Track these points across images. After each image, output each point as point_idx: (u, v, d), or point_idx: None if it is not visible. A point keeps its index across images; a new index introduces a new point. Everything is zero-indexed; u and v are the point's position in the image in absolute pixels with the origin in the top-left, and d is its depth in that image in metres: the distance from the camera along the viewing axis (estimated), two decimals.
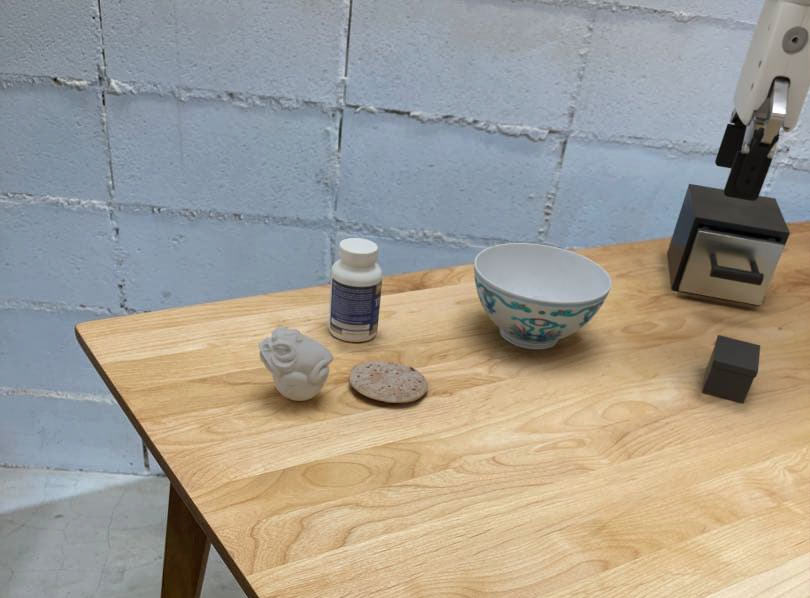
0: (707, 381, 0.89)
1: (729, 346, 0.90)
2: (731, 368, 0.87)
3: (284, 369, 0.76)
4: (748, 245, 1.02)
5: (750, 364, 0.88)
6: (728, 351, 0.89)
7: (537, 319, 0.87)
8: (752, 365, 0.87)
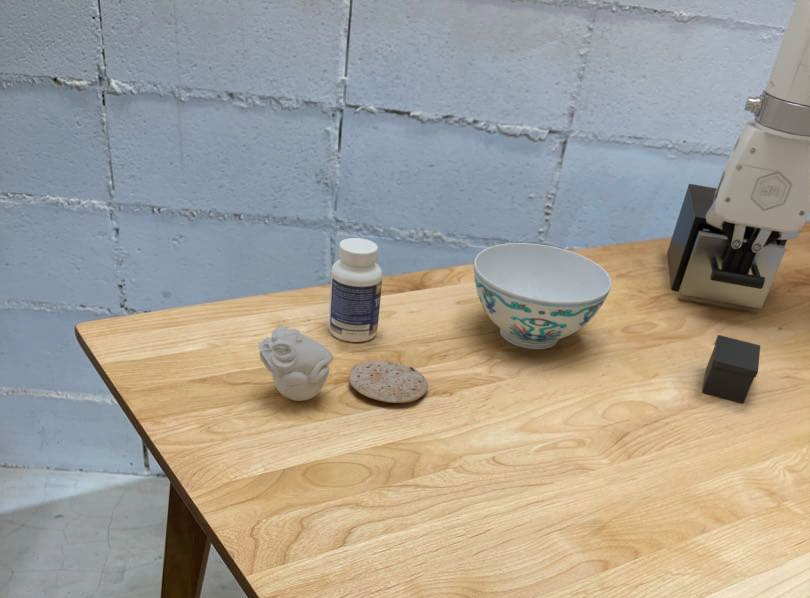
0: (707, 381, 0.89)
1: (729, 346, 0.90)
2: (731, 368, 0.87)
3: (284, 369, 0.76)
4: None
5: (750, 364, 0.88)
6: (728, 351, 0.89)
7: (537, 319, 0.87)
8: (752, 365, 0.87)
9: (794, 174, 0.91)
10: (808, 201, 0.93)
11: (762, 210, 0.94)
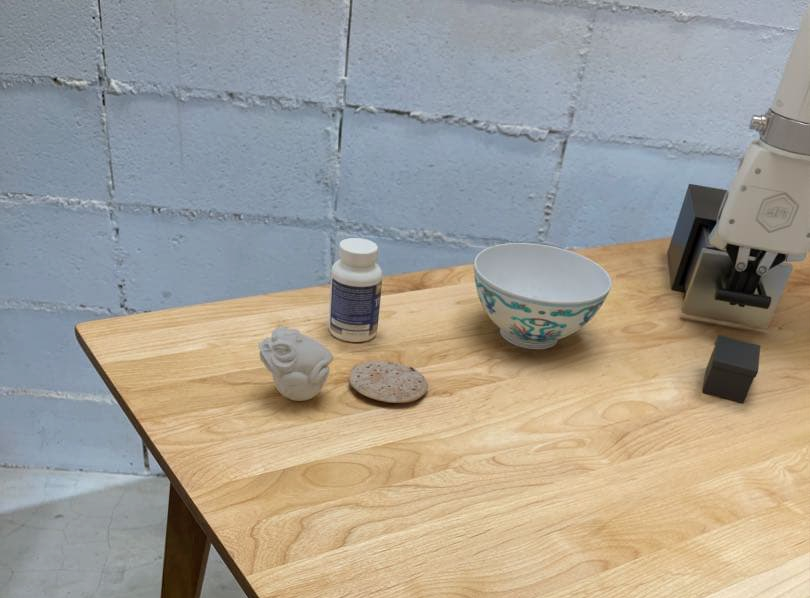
0: (707, 381, 0.89)
1: (729, 346, 0.90)
2: (731, 368, 0.87)
3: (284, 369, 0.76)
4: None
5: (750, 364, 0.88)
6: (728, 351, 0.89)
7: (537, 319, 0.87)
8: (752, 365, 0.87)
9: (801, 195, 0.87)
10: None
11: (768, 232, 0.90)
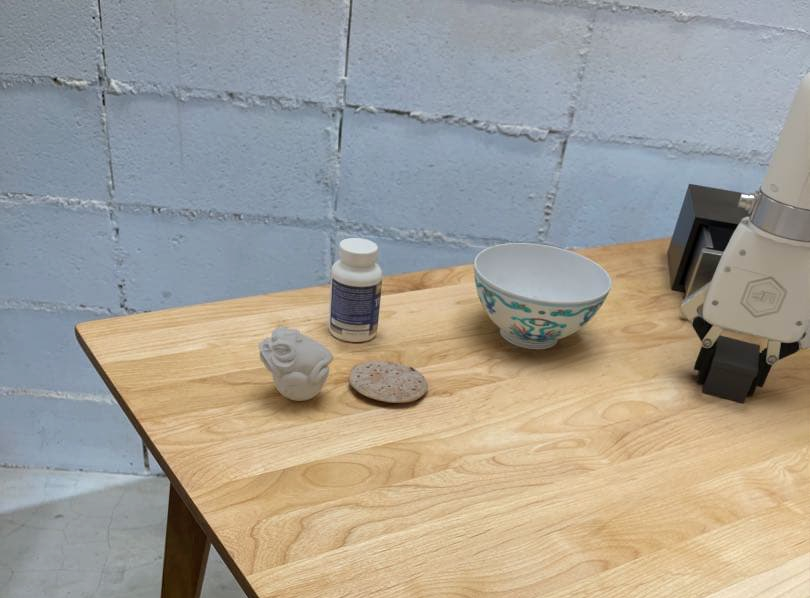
0: (707, 381, 0.89)
1: (729, 346, 0.90)
2: (731, 368, 0.87)
3: (284, 369, 0.76)
4: None
5: (750, 364, 0.88)
6: (728, 351, 0.89)
7: (537, 319, 0.87)
8: (752, 365, 0.87)
9: (790, 281, 0.81)
10: (806, 311, 0.82)
11: (754, 317, 0.84)
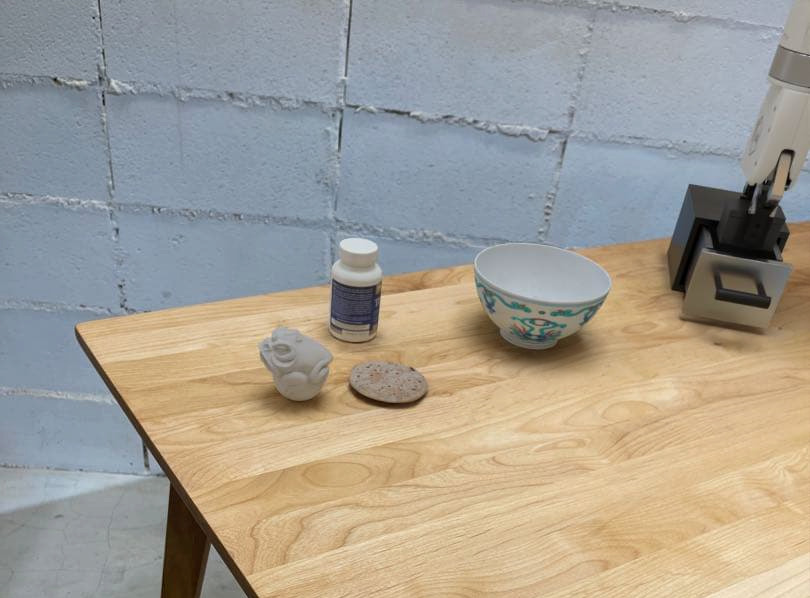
0: (720, 218, 1.02)
1: None
2: (727, 205, 0.99)
3: (284, 369, 0.76)
4: (755, 266, 0.97)
5: (740, 208, 0.97)
6: None
7: (537, 319, 0.87)
8: (738, 209, 0.97)
9: (765, 120, 0.91)
10: (761, 151, 0.91)
11: (748, 156, 0.95)
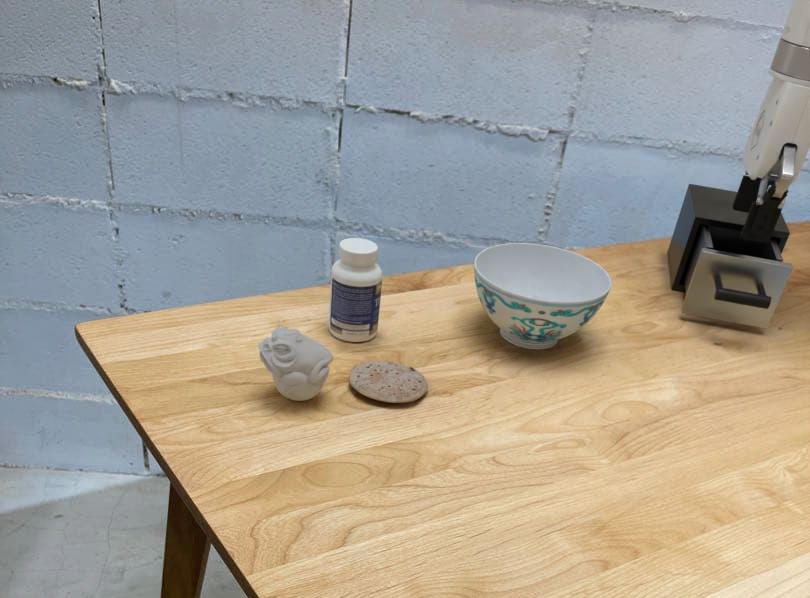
0: None
1: None
2: None
3: (284, 369, 0.76)
4: (754, 266, 0.97)
5: None
6: None
7: (537, 319, 0.87)
8: None
9: (767, 114, 0.91)
10: (762, 145, 0.90)
11: (750, 150, 0.95)
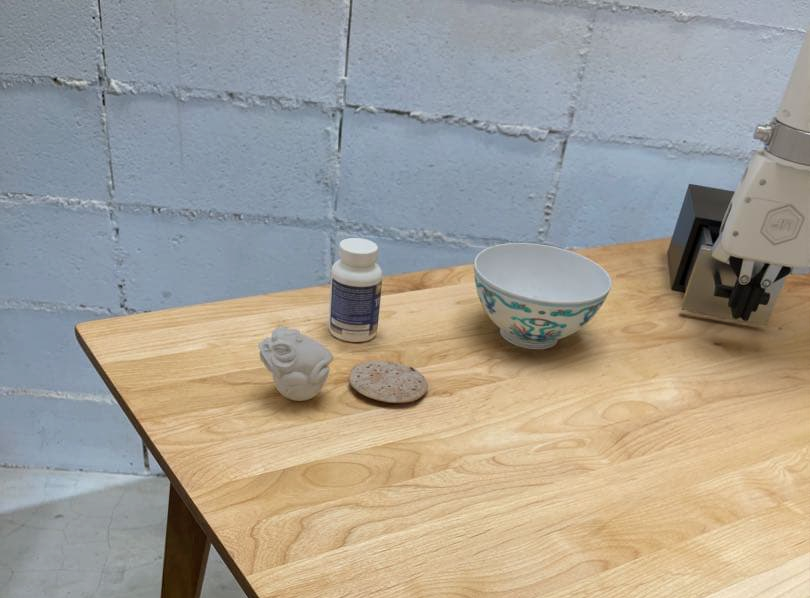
0: None
1: None
2: None
3: (284, 369, 0.76)
4: None
5: None
6: None
7: (537, 319, 0.87)
8: None
9: (807, 207, 0.85)
10: None
11: (772, 245, 0.88)
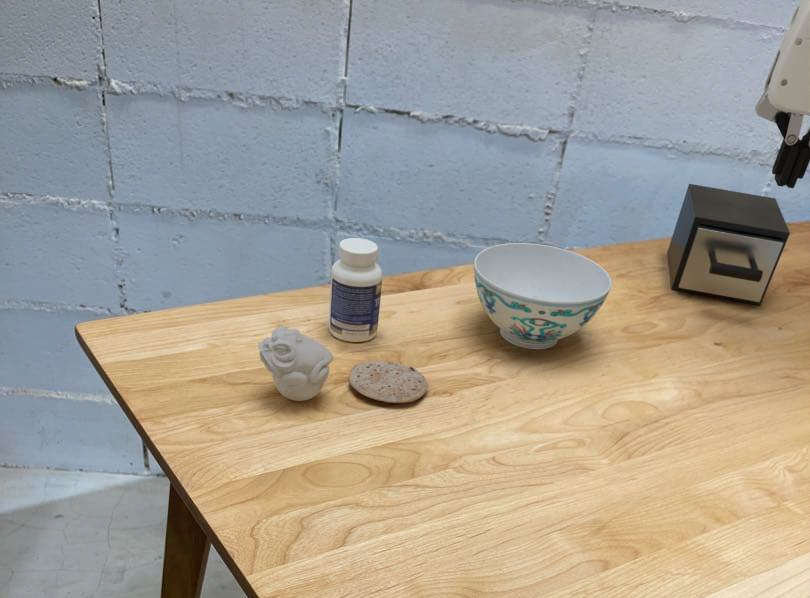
0: None
1: None
2: None
3: (284, 369, 0.76)
4: (747, 242, 1.03)
5: None
6: None
7: (537, 319, 0.87)
8: None
9: None
10: None
11: None
